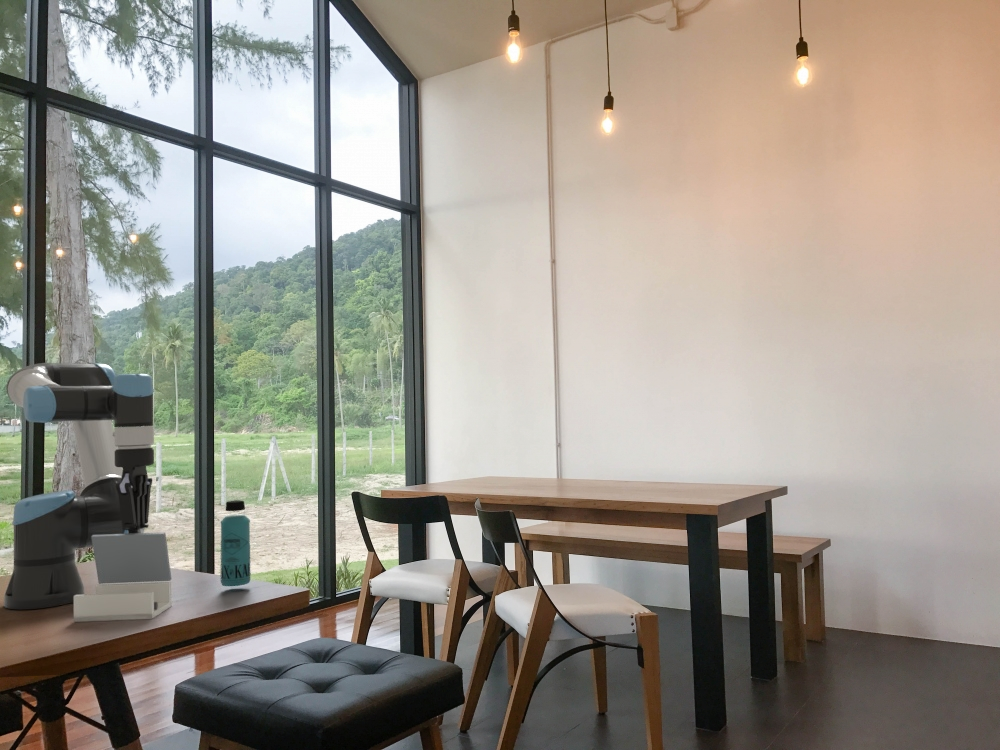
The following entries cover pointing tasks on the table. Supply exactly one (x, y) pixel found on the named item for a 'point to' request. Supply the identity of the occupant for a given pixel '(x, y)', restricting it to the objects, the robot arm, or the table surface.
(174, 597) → the table surface
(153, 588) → the white boxy piece
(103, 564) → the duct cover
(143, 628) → the table surface
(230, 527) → the beverage bottle
